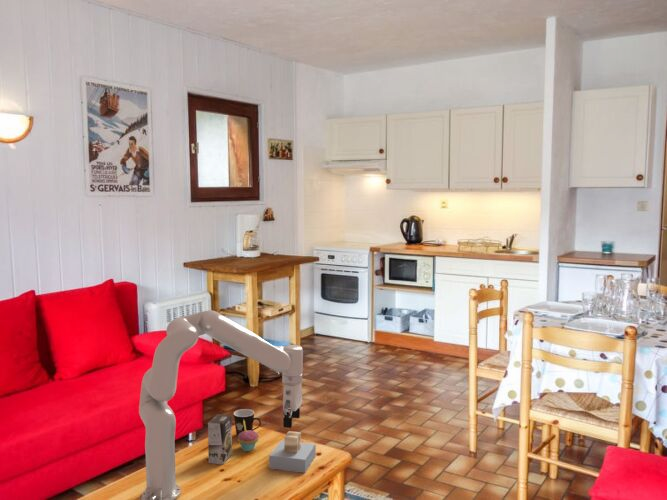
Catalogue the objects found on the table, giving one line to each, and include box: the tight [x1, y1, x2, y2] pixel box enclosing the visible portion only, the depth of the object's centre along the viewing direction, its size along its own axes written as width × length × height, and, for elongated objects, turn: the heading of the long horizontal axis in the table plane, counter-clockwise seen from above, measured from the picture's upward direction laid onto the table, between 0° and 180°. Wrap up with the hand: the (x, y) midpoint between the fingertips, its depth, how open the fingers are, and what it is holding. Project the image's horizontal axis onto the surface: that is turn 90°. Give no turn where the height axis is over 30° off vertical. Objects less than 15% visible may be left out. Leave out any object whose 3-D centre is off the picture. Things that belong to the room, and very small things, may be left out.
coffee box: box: [207, 413, 233, 465], centre depth 226 cm, size 9×6×16 cm
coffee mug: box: [233, 408, 262, 437], centre depth 246 cm, size 12×9×10 cm
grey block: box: [268, 439, 317, 474], centre depth 224 cm, size 14×14×5 cm
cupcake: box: [236, 419, 260, 452], centre depth 235 cm, size 9×8×12 cm
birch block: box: [283, 430, 302, 453], centre depth 223 cm, size 5×5×6 cm
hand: (291, 422), depth 222 cm, fingers open, 9 cm apart
